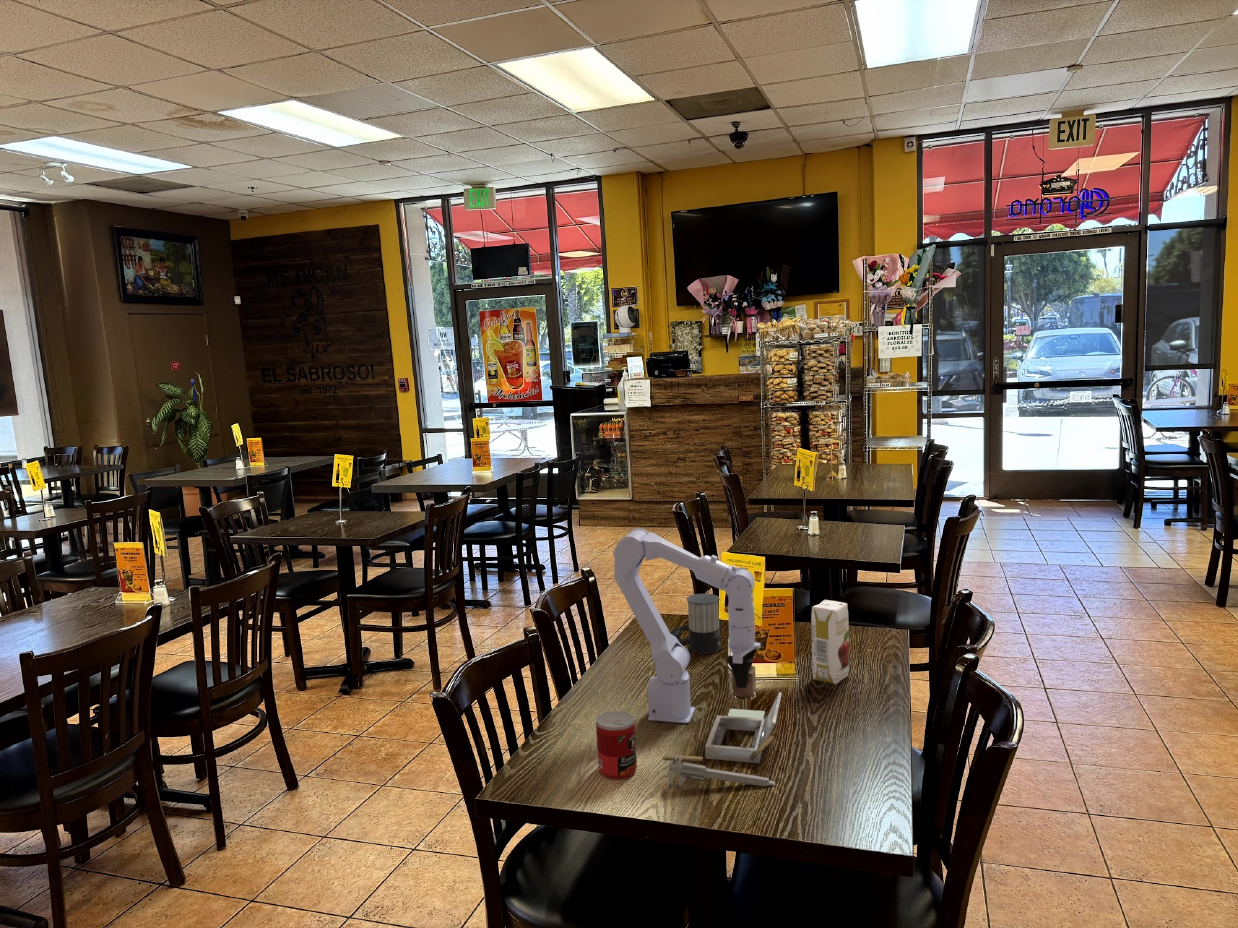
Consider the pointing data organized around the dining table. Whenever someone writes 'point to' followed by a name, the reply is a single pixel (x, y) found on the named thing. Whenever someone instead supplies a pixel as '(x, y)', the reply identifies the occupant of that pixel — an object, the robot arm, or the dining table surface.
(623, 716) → the canned food
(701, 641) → the milk frother
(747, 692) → the walnut block
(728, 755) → the aluminium case
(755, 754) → the propped lid
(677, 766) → the caliper
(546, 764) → the dining table surface
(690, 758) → the brass bar
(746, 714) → the green rubber mat
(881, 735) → the dining table surface
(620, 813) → the dining table surface
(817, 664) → the juice carton
